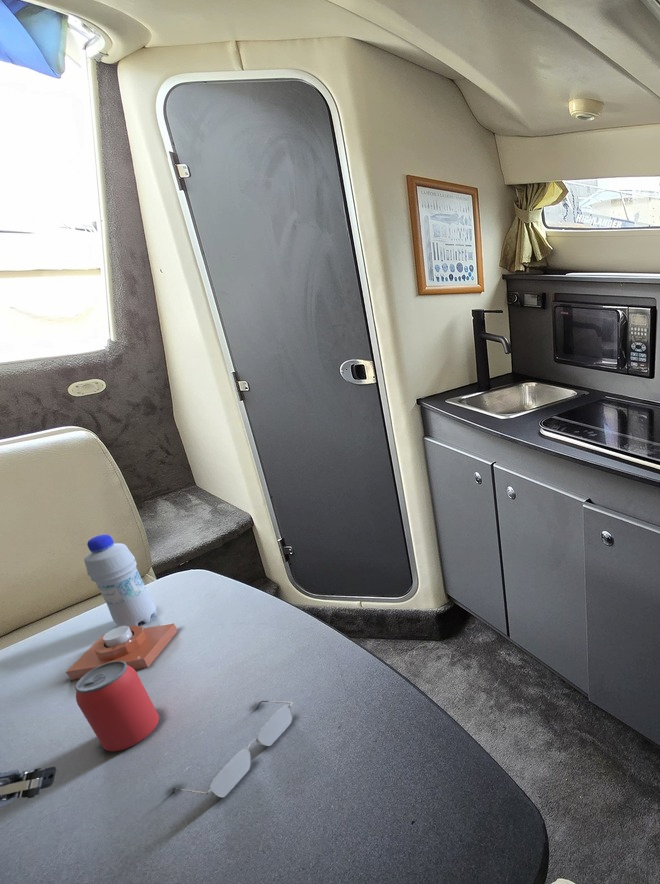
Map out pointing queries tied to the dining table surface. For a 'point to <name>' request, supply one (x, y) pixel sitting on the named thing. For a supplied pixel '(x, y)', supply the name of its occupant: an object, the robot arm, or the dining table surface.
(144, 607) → the bottle
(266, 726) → the eyeglasses
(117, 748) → the beer can
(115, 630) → the white push button
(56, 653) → the dining table surface
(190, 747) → the dining table surface
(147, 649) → the orange button base
